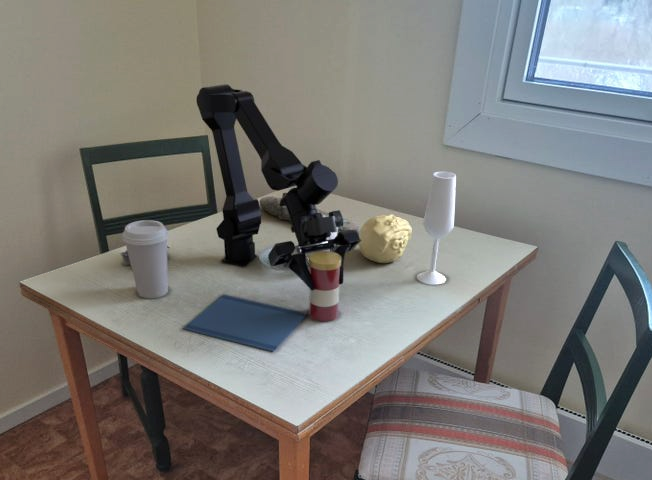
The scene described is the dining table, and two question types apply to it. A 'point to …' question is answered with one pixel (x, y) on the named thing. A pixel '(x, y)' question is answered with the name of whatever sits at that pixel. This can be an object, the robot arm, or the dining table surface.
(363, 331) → the dining table surface
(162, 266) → the coffee cup
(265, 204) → the elongated rock
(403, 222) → the sculpture
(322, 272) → the jam jar
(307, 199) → the robot arm
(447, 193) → the champagne flute
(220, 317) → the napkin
